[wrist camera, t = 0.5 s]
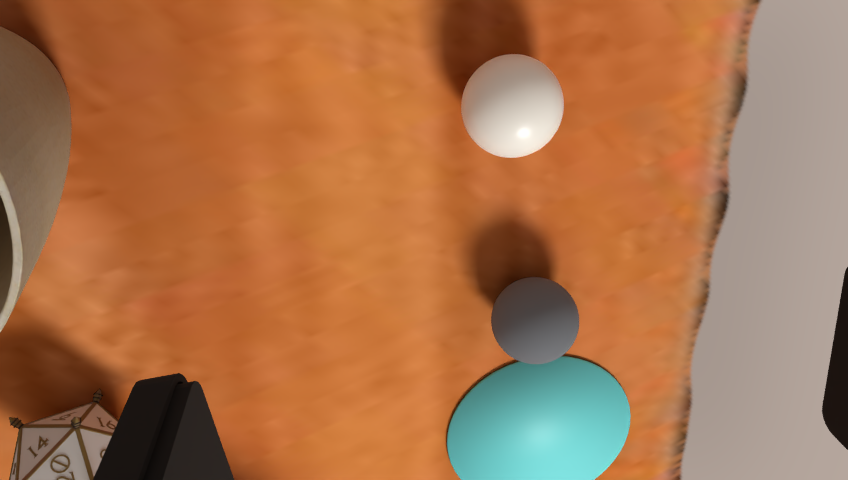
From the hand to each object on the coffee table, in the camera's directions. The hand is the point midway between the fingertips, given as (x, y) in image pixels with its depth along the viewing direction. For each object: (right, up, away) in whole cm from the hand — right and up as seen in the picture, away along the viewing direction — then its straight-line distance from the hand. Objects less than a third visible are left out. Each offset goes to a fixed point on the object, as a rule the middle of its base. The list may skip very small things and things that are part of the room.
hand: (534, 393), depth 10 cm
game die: (-24, -10, +36) cm, 44 cm away
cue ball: (+3, +9, +27) cm, 28 cm away
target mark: (+7, -12, +41) cm, 43 cm away
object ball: (+5, -3, +33) cm, 33 cm away
